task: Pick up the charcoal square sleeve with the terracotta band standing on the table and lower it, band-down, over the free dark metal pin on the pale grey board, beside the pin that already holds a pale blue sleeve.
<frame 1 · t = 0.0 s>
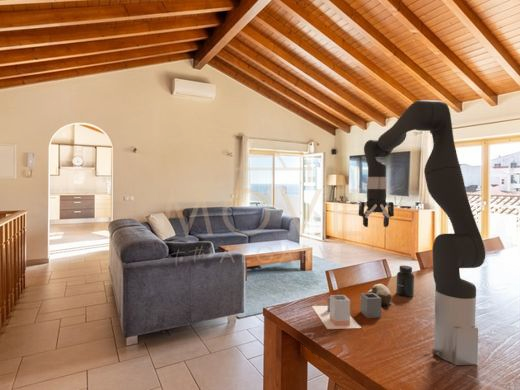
hand: (375, 226, 126), 29 cm above the table, tool pointing down, fingers open, 8 cm apart
charcoal sleeve: (370, 318, 104), on the table
skull: (378, 303, 119), on the table
pin board: (334, 320, 103), on the table
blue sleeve: (339, 321, 98), point 1 cm above the table, touching pin board
supplement bottle: (404, 294, 129), on the table
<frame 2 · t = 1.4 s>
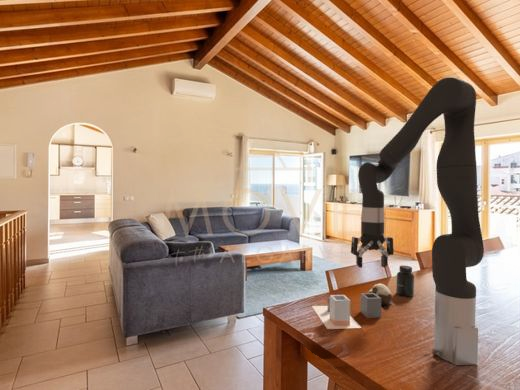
hand: (371, 267, 104), 18 cm above the table, tool pointing down, fingers open, 8 cm apart
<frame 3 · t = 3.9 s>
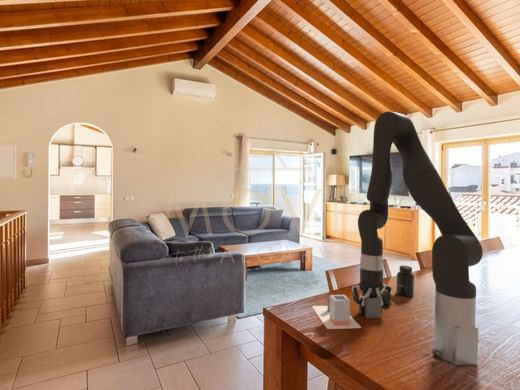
hand: (370, 315, 104), 1 cm above the table, tool pointing down, fingers closed on charcoal sleeve, 5 cm apart
charcoal sleeve: (370, 318, 104), on the table, touching gripper
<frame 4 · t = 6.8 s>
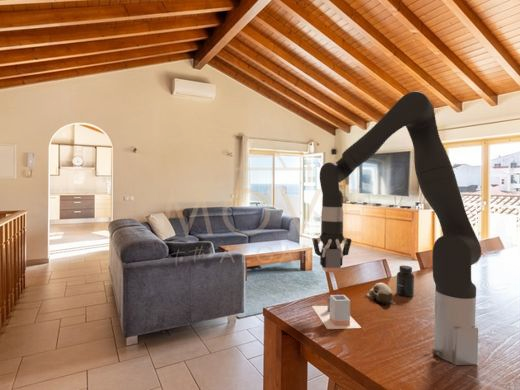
hand: (331, 266, 107), 17 cm above the table, tool pointing down, fingers closed on charcoal sleeve, 5 cm apart
charcoal sleeve: (331, 270, 107), point 16 cm above the table, touching gripper
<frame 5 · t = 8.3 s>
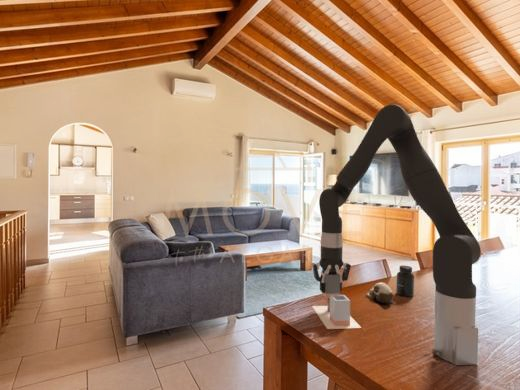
hand: (330, 292, 107), 8 cm above the table, tool pointing down, fingers closed on charcoal sleeve, 5 cm apart
charcoal sleeve: (330, 295, 107), point 7 cm above the table, touching gripper
when the fingers open (4 cm above the table, at t = 9.5 s): charcoal sleeve stays where it is, point 3 cm above the table.
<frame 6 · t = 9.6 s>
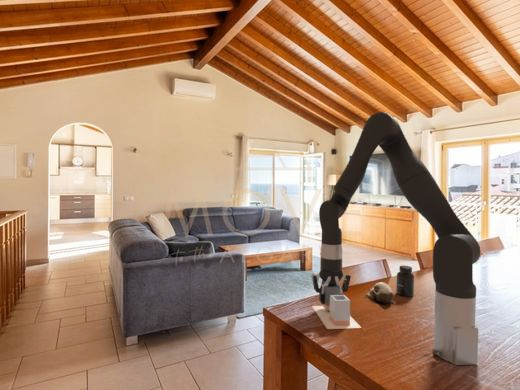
hand: (330, 303, 107), 4 cm above the table, tool pointing down, fingers open, 5 cm apart
charcoal sleeve: (330, 307, 107), point 3 cm above the table
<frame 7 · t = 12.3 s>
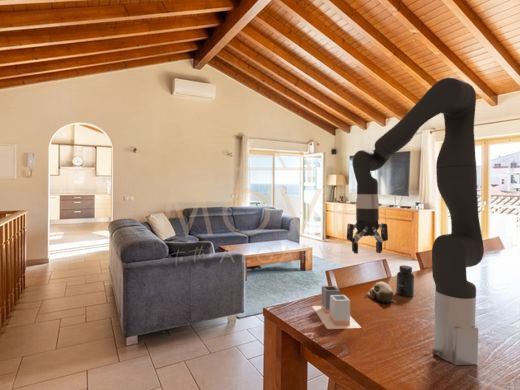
hand: (367, 253, 106), 22 cm above the table, tool pointing down, fingers open, 8 cm apart
charcoal sleeve: (330, 310, 107), point 1 cm above the table, touching pin board
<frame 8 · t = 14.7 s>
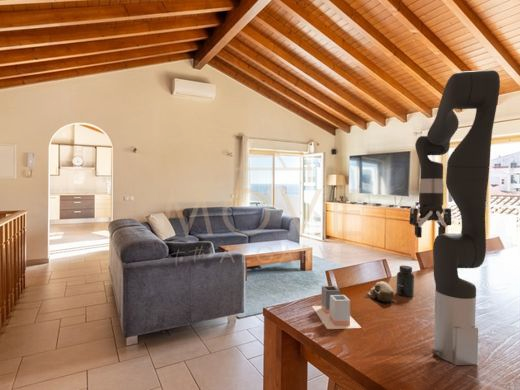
hand: (430, 237, 107), 28 cm above the table, tool pointing down, fingers open, 8 cm apart
at the end: charcoal sleeve 0.1 cm from the target spot on the pin board, point 1.5 cm above the pin board's base; charcoal sleeve tilted 0°; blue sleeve moved 0.0 cm from its start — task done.
